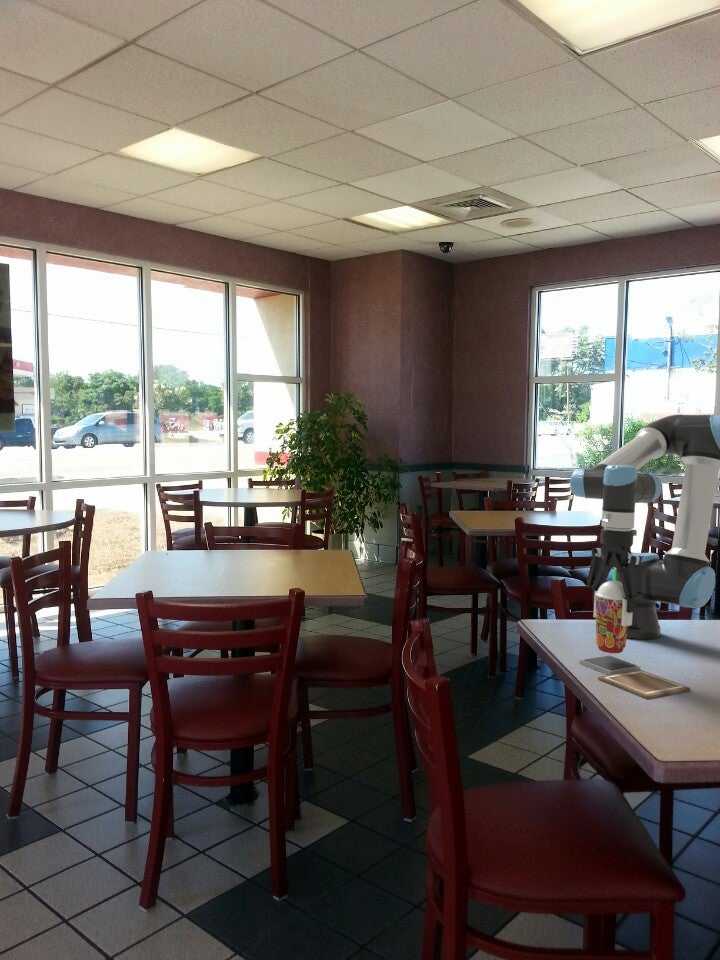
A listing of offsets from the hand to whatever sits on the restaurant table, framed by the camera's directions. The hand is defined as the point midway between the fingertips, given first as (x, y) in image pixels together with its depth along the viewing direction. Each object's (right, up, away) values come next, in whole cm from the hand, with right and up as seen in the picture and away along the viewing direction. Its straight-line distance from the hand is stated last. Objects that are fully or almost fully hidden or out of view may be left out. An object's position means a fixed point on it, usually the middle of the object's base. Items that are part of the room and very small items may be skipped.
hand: (612, 620), depth 188 cm
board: (+3, -12, -12) cm, 18 cm away
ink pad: (0, -11, +1) cm, 12 cm away
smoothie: (0, -7, 0) cm, 8 cm away
